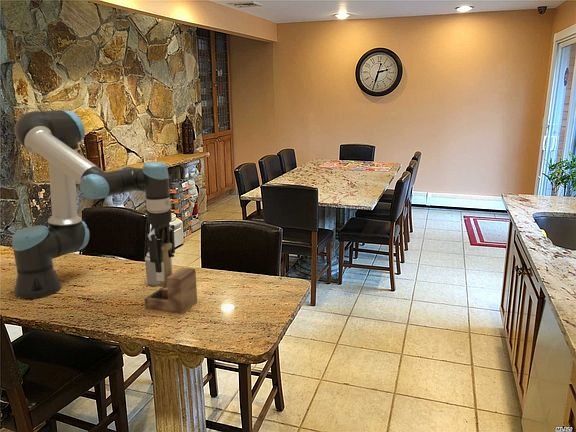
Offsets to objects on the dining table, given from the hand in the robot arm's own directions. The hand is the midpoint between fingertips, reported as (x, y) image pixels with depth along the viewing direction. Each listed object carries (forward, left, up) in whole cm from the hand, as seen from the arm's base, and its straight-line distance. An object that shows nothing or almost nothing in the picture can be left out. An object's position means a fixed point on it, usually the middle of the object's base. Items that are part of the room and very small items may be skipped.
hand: (164, 278), depth 157 cm
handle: (0, 0, -3) cm, 3 cm away
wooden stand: (+3, 0, -10) cm, 10 cm away
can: (-14, +16, -10) cm, 23 cm away
